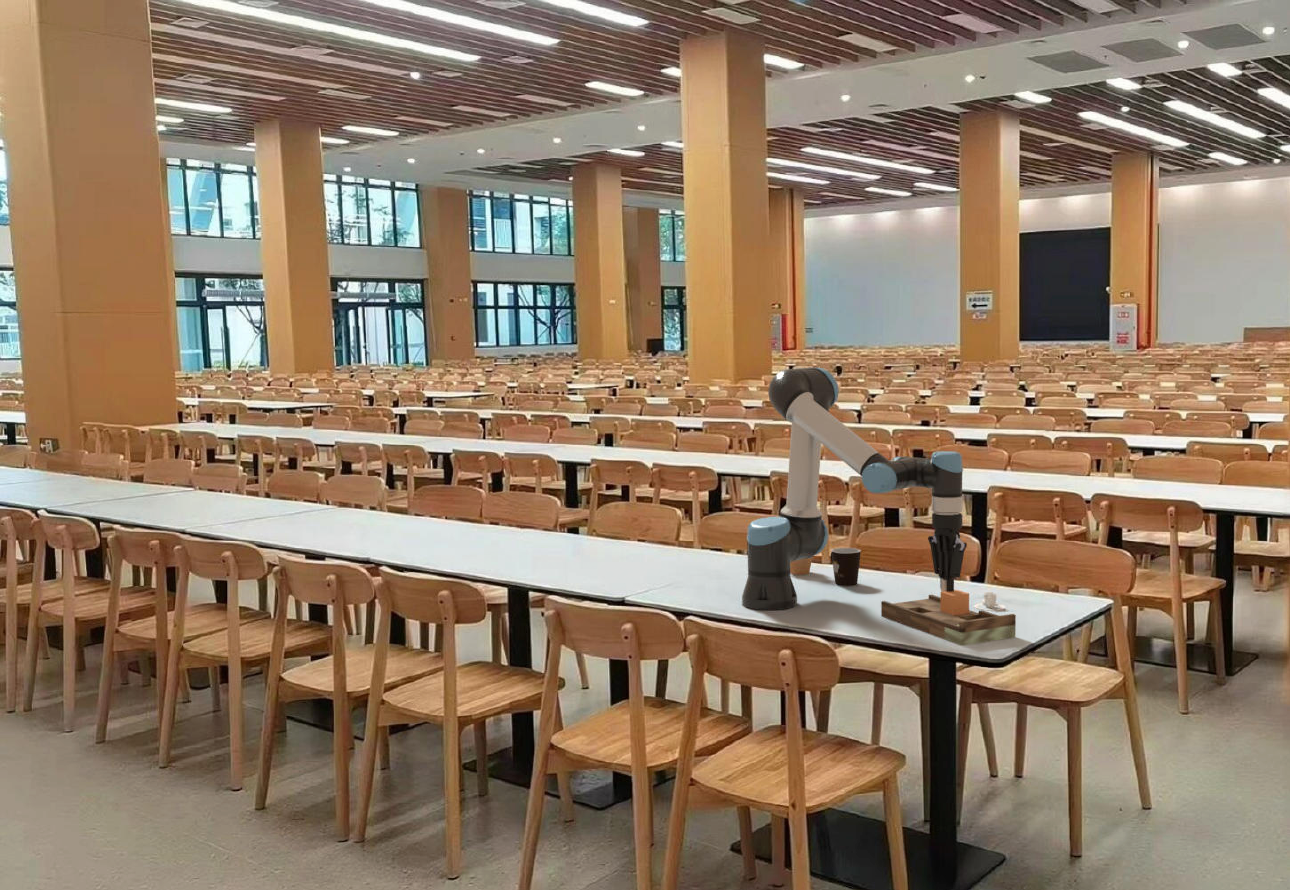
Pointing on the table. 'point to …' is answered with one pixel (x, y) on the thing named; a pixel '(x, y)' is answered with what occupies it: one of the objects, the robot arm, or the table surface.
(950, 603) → the block
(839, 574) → the coffee mug
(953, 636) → the board
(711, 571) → the table surface
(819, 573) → the table surface
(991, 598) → the teacup and saucer
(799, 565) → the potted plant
